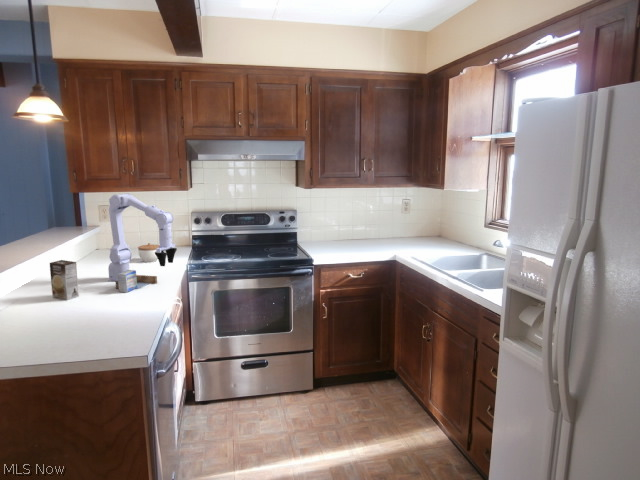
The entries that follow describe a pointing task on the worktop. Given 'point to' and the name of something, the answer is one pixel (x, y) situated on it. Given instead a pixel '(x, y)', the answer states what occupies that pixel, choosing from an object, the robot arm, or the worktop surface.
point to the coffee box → (64, 279)
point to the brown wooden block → (143, 279)
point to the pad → (141, 284)
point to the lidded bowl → (148, 252)
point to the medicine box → (127, 281)
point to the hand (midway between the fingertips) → (166, 264)
